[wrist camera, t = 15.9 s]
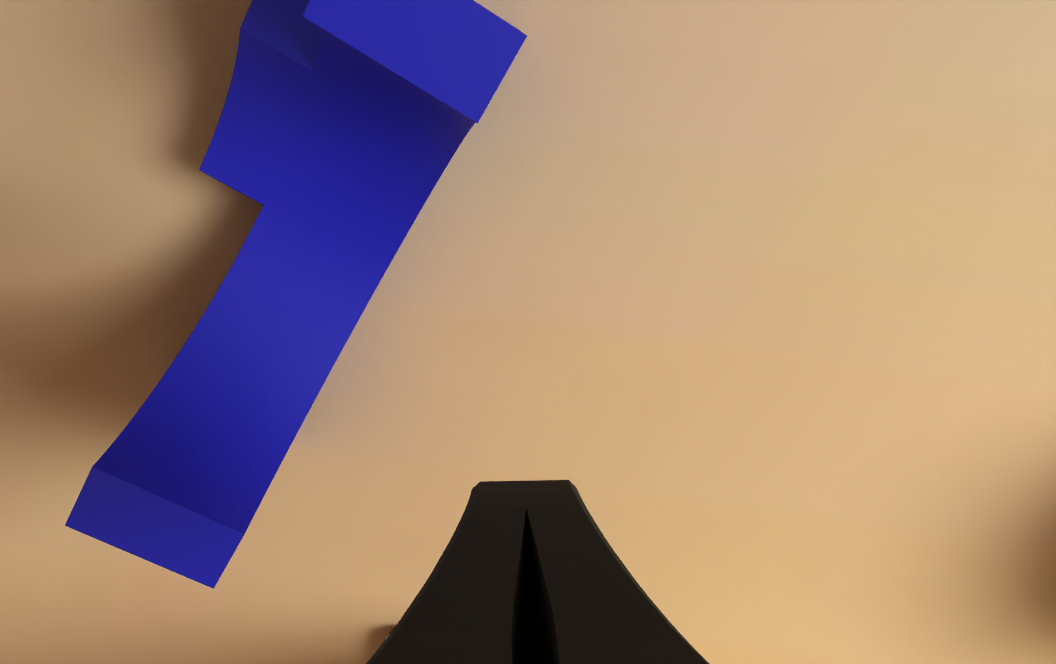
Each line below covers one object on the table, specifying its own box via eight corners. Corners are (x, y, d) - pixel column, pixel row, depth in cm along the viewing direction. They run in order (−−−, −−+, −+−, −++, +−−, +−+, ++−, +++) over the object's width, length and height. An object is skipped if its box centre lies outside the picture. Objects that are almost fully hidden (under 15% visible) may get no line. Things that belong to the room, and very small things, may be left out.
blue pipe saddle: (336, -89, 16) (249, -144, 11) (519, 30, 17) (526, 35, 12) (129, 360, 20) (-15, 492, 14) (290, 437, 21) (213, 588, 15)
